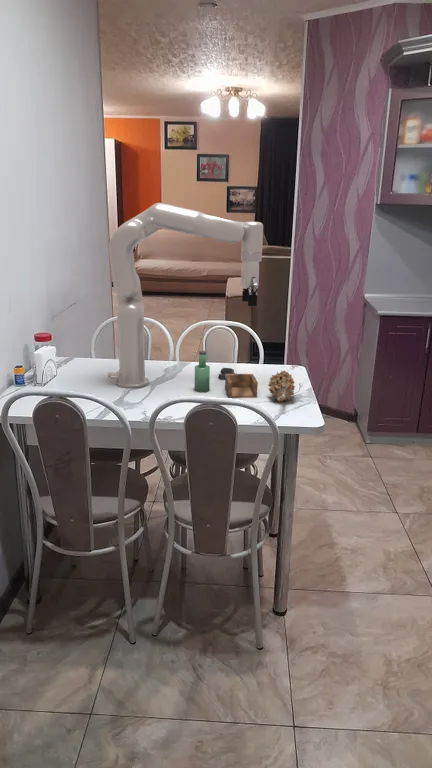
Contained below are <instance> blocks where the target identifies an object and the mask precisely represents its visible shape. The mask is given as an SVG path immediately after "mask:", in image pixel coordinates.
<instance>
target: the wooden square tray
mask: <svg viewBox="0 0 432 768" xmlns="http://www.w3.org/2000/svg"><path fill="white" fill-rule="evenodd" d="M255 378H256V377H255V375H254V374H253V373H235V374H225V380H224V390H225V393H226V395H227V398H228V399H233V398H234V399H235V398H236V399H238V398H240V399H242V398H245V399H246V398H247V399H248V398H249V399H250V398H258V380H257V378H256V379H255Z"/></svg>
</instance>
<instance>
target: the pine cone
mask: <svg viewBox="0 0 432 768" xmlns="http://www.w3.org/2000/svg"><path fill="white" fill-rule="evenodd" d="M269 379H270V380H269V381H268V383H267V386H268V387H269V388H268V391H269V394H271V395H272V398H274V399H277V402H281V403H282V401H288V400H291V397H292V396H293V395H294V394H295V391H294V390H295V388H296V386H295V385H294V384H295V381H294V378H293V376H292V374H291V373H290V374H289V372H288V371H286V370H281V371H280V372H278V371H277V372H276V373H275V375H274V374H271V376H270V377H269Z"/></svg>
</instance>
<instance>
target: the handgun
mask: <svg viewBox="0 0 432 768" xmlns="http://www.w3.org/2000/svg"><path fill="white" fill-rule="evenodd" d="M225 374H236V373H235V369H233V368H232V367H222V368H221V369H220V373H219V374H218V375H217V376H218V378H217V379H219V380H223V381H225ZM255 379H256V380H257V378H256V377H255Z"/></svg>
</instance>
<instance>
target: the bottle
mask: <svg viewBox="0 0 432 768" xmlns="http://www.w3.org/2000/svg"><path fill="white" fill-rule="evenodd" d="M210 370H211V367H210V365H207V351H206V350H199V351H198V364H197V365H195V366H194V389H193V390H194V391H195V392H197V393H207V392H210V379H211V377H210V376H211V375H210V374H211V371H210Z"/></svg>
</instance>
